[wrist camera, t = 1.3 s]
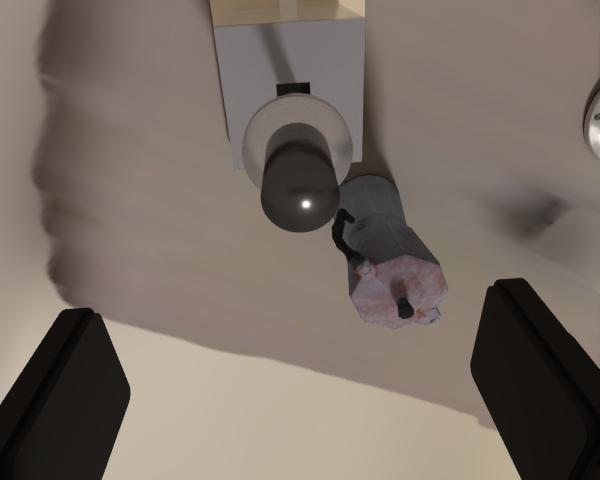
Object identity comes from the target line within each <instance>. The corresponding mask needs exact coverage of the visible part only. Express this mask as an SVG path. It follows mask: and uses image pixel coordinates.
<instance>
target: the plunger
mask: <svg viewBox="0 0 600 480" xmlns="http://www.w3.org/2000/svg"><path fill="white" fill-rule="evenodd" d="M276 85H277V97H276V98H273V99H271V100H270V101H268V102H266V103H265V104H264V105H262V106H261V107H260V108H259V109H258V110H257V111H256V112H255V113H254V115H253V116H252V118H251V119H250V121H249V123H248V125H247V127H246V130H245V133H244V137H243V142H242V160H243V165H244V167H245V170H246V172H247V174H248V176H249V178H250V180H251V181H252V182H253V184H254V185H255V186H256V187H257V188H258V189H259V190H260V191H261V204H262V208H263V210H264V212H265V214H266V216H267V217H268V218H269V219H270V221H271V222H273V223H274V224H275V225H276V226H278V227H280V228H282V229H284V230H287V231H291V232H309V231H313V230H316V229H318V228H320V227H322V226H323V225H325V224H326V223H327V222H329V221H330V220H331V219H332V217H333V216H334V215H335V213H336V211H337V209H338V206H339V202H340V190H339V185H340V184H341V183H342V181H343V180H344V179H345V177H346V175H347V173H348V171H349V169H350V166H351V163H352V158H353V142H352V137H351V134H350V131H349V129H348V126H347V124H346V122H345V120H344V118H343V117H342V115H341V114H340V113H339V112H338V111H337V109H336V108H335V107H333V106H332V105H331V104H330V103H328V102H327V101H325V100H323V99H321V98H319V97H317V96H313V95H310V85H309V82H301V83H286V84H276Z"/></svg>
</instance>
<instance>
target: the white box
mask: <svg viewBox="0 0 600 480" xmlns="http://www.w3.org/2000/svg"><path fill="white" fill-rule="evenodd" d="M210 6H211V13H212V19H213V26H214V28H213V29H214V36H215V43H216V50H217V56H218V63H219V70H220V77H221V84H222V90H223V97H224V104H225V111H226V117H227V124H228V131H229V138H230V145H231V151H232V158H233V165H234V170H239V169H245V167H244V165H243V160H242V142H243V137H244V133H245V130H246V127H247V125H248V123H249V121H250V119H251V118H252V116H253V115H254V113H255V112H256V111H257V110H258V109H259V108H260V107H261V106H262V105H264V104H265V103H266V102H268V101H270V100H271V99H273V98H276V97H277V85H276V84H286V83H301V82H309V85H310V95H313V96H317V97H319V98H321V99H323V100H325V101H327V102H328V103H330V104H331V105H332V106H333V107H335V108H336V109H337V111H338V112H339V113H340V114H341V115H342V117H343V118H344V120H345V122H346V124H347V126H348V129H349V131H350V134H351V137H352V142H353V158H352V162H362V138H363V94H364V51H365V17H364V15H365V0H210Z"/></svg>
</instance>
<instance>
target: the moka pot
mask: <svg viewBox="0 0 600 480" xmlns="http://www.w3.org/2000/svg"><path fill="white" fill-rule="evenodd" d="M339 190H340V202H339V206H338V209H337V211H336V213H335V215H334V220H335V221H334V224H333V226H332V239H333V240H334V242H335V244H336V246H337V248H338V249H339V250H340V251H342V252H343V253H344V254H345V256H346V258H347V263H348V281H349V296H350V298H351V300H352V302H353V304H354V306H355V307H356V309H357V311H358V313H359V315H360V317H361V319H362V320H363V321H365V322H369V323H373V324H377V325H381V326H385V327H389V328H392V329H397V328H400V327H403V326H406V325H409V324H412V323H418V324H422V325H429V324H433V323H435V322H436V321H437V320H438V319H440V318H441V317H442V316H441V314H440V312H439V311H438V309H437V307H438V305H439V303H440V302H441V301H442V300H443V299H444V297H445V296H446V294H447V293H448V287H447V284H446V282H445V279H444V276H443V273H442V270H441V266H440V263H439V262H438V261H437V259H436V258H435V257H434V256H433V254H432V253H431V252H430V251H429V250H428V248H427V247H426V246H425V245H424V243H423V242H422V241H421V240H420V238H419V237H418V236H417V235H416V233H415V232H414V231H413V230H412V228H411V227H408V226H407V224H406V220H405V216H404V212H403V208H402V204H401V200H400V196H399V192H398V189H397V188H396V187H395V186H394V185H393V184H392V183H390V182H389V181H388V180H387V179H385V178H384V177H379V176H374V175H367V176H360V177H356V178H354V179H352V180H350V181H348V182H347V183H345V184H344V185H342V186H340V188H339ZM342 237H343V238H342Z"/></svg>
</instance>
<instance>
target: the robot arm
mask: <svg viewBox="0 0 600 480" xmlns="http://www.w3.org/2000/svg"><path fill="white" fill-rule="evenodd" d="M584 137H585V140H586V144H587V146H588V148H589V149H590V151H591V152H592V153H593V154H594V155H595V156H596V157H598V158H599V159H600V90H599V92H598V93H597V94H596V96H595V97H594V99H593V101H592V103H591V105H590V107H589V109H588V112H587V115H586V118H585V124H584ZM470 368H471V373H472V377H473V379H474V381H475V383H476V385H477V387H478V389H479V392H480V394H481V396H482V398H483V400H484V402H485V404H486V406H487V408H488V410H489V413H490V415H491V417H492V419H493V421H494V423H495V425H496V427H497V429H498V431H499V434H500V436H501V438H502V440H503V442H504V444H505V446H506V448H507V450H508V452H509V454H510V457H511V459H512V461H513V463H514V465H515V467H516V469H517V471H518V473H519V475H520V477H521V480H600V369H599V368H598V367H597V365H596V364H595V363H594V362H593V360H592V359H591V358H590V357H589V355H588V354H587V353H586V352H585V350H584V349H583V348H582V347H581V346H580V344H579V343H578V342H577V341H576V339H575V338H574V337H573V336H572V335H571V334H570V333H568V332H567V331H566V329H565V328H564V327H563V326H562V324H561V323H560V322H559V321H558V320H557V318H556V317H555V316H554V315H553V313H552V312H551V311H550V310H549V308H548V307H547V306H546V305H545V303H544V302H543V301H542V300H541V298H540V297H539V296H538V295H537V293H536V292H535V291H534V290H533V288H532V287H531V286H530V285H529V283H528V282H527V281H526V280H525V279H523V278H513V279H499V280H496V282H495V283H494V286H489V287H488V289H487V292H486V297H485V301H484V306H483V310H482V314H481V319H480V323H479V327H478V332H477V336H476V341H475V345H474V349H473V354H472V358H471V363H470ZM129 400H130V386H129V383H128V381H127V378H126V376H125V373H124V371H123V368H122V366H121V364H120V361H119V359H118V356H117V354H116V351H115V349H114V346H113V344H112V341H111V339H110V336H109V334H108V332H107V329H106V327H105V324H104V322H103V319H102V317H101V315H100V314H99V313H94V311H93V310H92V309H91V308H75V309H65V310H63V311H62V312H61V313H60V314H59V315H58V317H57V318H56V320H55V321H54V323H53V325H52V326H51V328H50V329H49V331H48V332H47V334H46V335H45V337H44V338H43V340H42V341H41V343H40V344H39V346H38V348H37V349H36V351H35V352H34V354H33V355H32V357H31V358H30V360H29V361H28V363H27V365H26V366H25V368H24V369H23V371H22V372H21V374H20V375H19V377H18V378H17V380H16V381H15V383H14V384H13V386H12V388H11V389H10V391H9V392H8V394H7V395H6V397H5V398H4V400H3V401H2V403H1V404H0V480H102V477H103V474H104V472H105V469H106V466H107V463H108V460H109V457H110V455H111V452H112V449H113V446H114V443H115V440H116V438H117V435H118V432H119V429H120V426H121V423H122V420H123V417H124V415H125V412H126V409H127V407H128V403H129Z"/></svg>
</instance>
